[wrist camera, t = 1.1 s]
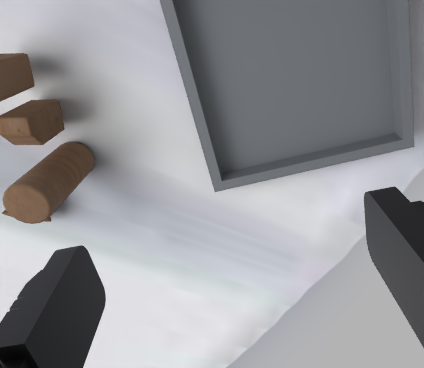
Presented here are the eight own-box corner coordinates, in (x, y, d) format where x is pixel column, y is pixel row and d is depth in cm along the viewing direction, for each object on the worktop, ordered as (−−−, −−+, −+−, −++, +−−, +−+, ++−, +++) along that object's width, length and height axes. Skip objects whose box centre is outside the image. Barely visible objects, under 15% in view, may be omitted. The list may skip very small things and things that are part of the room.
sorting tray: (159, -18, 34) (154, -20, 32) (388, -87, 32) (404, -95, 29) (215, 179, 43) (214, 192, 40) (401, 136, 40) (414, 146, 38)
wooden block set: (-11, 51, 37) (-97, 71, 28) (75, 49, 36) (16, 69, 27) (33, 212, 45) (-22, 268, 36) (105, 213, 44) (67, 271, 35)
